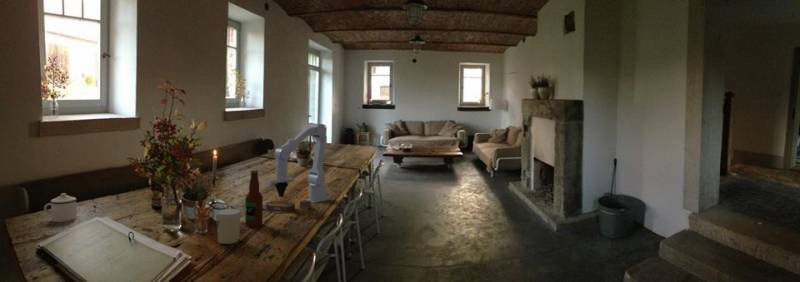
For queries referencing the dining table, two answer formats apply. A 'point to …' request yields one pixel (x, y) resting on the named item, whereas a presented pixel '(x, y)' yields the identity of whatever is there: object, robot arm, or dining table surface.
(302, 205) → the walnut block
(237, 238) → the coffee cup
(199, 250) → the dining table surface
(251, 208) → the bottle
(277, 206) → the tin
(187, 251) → the dining table surface
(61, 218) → the teacup with lid
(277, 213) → the mat
